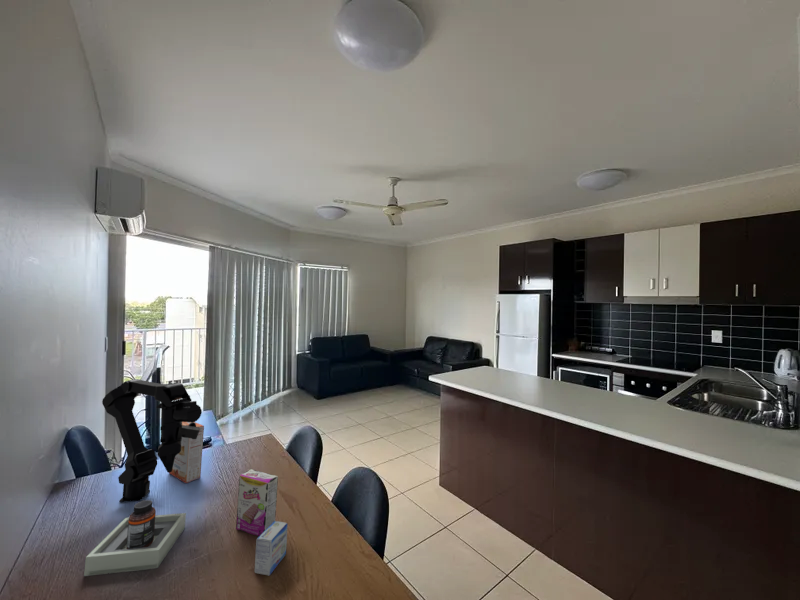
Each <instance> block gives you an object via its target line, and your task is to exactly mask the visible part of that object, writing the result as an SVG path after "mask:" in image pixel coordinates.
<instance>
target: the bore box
mask: <svg viewBox="0 0 800 600" xmlns="http://www.w3.org/2000/svg"><path fill="white" fill-rule="evenodd" d="M186 517H187V513H186V512H183V513H181V512H180V513H169V514H159V515H157V514H156V515H155V529H154V540H153V542H152V544H151V545H150V546H148V547H143V548H133V549H127V534H128V521H129V517H125V518H124V519H123V520H122V521H121V522H119V524H118V525H117V526H115V528H113V530H112V531H110V533H109V534H108V535H107V536H105V538H104V539H102V541H101V542H99V544H98V545H96V547H95V548H93V549H92V550H91V551H90V552H89V553H88V555H86V557H85V561H84V571H83V572H84V573H83V577H89V576H91V577H92V576H99V575H108V573H109V574H116V573H117V574H118V573H126V572H133V571H134V572H135V571H144V570H153V569H154V570H155V569H158V568H159V567H160V566H161V564H162V562H163V561H164V559H165V558H166V557H167V555H168V553H169V552H170V551H171V549H172V548H173V546H174V545H175V544H176V542H177V541H178V539H179V538H180V536H181V535H182V533H183V531H184V530H185V527H186Z"/></svg>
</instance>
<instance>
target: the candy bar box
mask: <svg viewBox="0 0 800 600" xmlns="http://www.w3.org/2000/svg"><path fill="white" fill-rule="evenodd" d="M278 482H279V476H278V475H275V474H271V473H266V472H264V471H259V470H255V469H252V468H251V469H249V470H246V471H245V472H243V473H240V475H239V480H238V492H237V493H238V494H237V495H238V497H237V508H236V509H237V510H236V522H235V523H236V524H235V530H237V531H242V532H244V533H247V534H250V535H253V536H256V537H259V536H260V535H261V534H262V533H263V532H264V531H265V530H266V529H267V528H268V527H269V526H270V525H271V524H272V523H273V522H274V521H276V517H277V516H276V515H277V514H276V513H277V499H278V487H279V486H278Z"/></svg>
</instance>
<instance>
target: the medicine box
mask: <svg viewBox="0 0 800 600" xmlns="http://www.w3.org/2000/svg"><path fill="white" fill-rule="evenodd" d="M287 539H288V523H287V522H284V521H278V520H275V521H274V522H273V523H272V524H271V525H270V526H269V527H268V528H267V529H266V530H265V531H264V532H263V533H262V534H261V535H260V536H257V538H256V540H255V541H256V542H255V544H256V545H255V556H254V558H255V559H254V573H255V574H258V575H259V574H260V575H263V576H264V575H265V576H269V577H270V576H271V574H272V573H273V571H275V569H276V567H278V565H279V564H280V562H281V561H282V560H283V559H284V557H285V556H286V555H287Z"/></svg>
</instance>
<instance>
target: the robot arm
mask: <svg viewBox="0 0 800 600" xmlns="http://www.w3.org/2000/svg"><path fill="white" fill-rule="evenodd" d="M140 394H141V395H145V396H149V397H150V396H151V397H154V400H155V401H157V402H160V403H159V404H157V406H156V409H160V410H161V411H160V414H161V415H160V438H159V439H160V440H159V443H160V444H159V445H158V447H157V455H156V453H155V449H153V448H150V449H148V448H147V447H146V446H145V443H144V440H143V437H142V435H141V432H140V430H139V426H138V423H137V421H136V418H135V415H134V411H133V409H134V407H135V404H136V401H135V399H136V398H137V396H139V395H140ZM101 400H102V401H101V403H102V406H103V407H104V410H105V411H106V413H107V414H108V415H110V416H112V417H113V418H114V419H115V421H116V424H117V425H116V426H117V427H118V431H119V433H120V436H121V439H122V443H123V445H124V448H125V452H126V453H127V454H126V455H127V456H126V459H125V462H124V469H125V470H124V471H123V472H121V473H120V475H119V476H117V477H118V478H117V479H118V483H119V484H120V485H123V487H122V489H123V490H122V498H120V499H119V500H118V501H119V503H124V502H125V503H126V502H127V503H128V502H140V501H143V500H144V498H145V497H146V496H147V495H148V494H149V493H150V492H151V490H150V486H151V485H150V484H151V481H150V480H149V479H150V476H153V475H155V474H154V473H155V471H156V468H157V466H158V458H159V459H160V461H161V463H162V465H163V466H164V468H165V471H166V472H167V473H169V472H172V468H173V464H174V460H175V456H176V455H177V454H178V453H180V452H181V441H182V437H185V438H192V439H197V436H198V434H199V431H200V428H199V427H196V423H197V421H198V420H199V419H200V418H201V416H202V412H203V411H202V408H201V406H200V405H199V404H197V400H193V401H192V398H191V396H190V395H189V393H188V391H187V389H186V387H185V386H184V384H183V383H180V382H175V383H164V384H163V383H159V382H158V383H157V382H153V381H148V380H143V379H140V378H134V379H130V380H126V381H123V382H122V383H121V384H120V385H119V386H117V387H115V388H114V389H111V390H110V391H109V392H108V393H107V394H106V395H105V396H104V397H103V398H102V399H101ZM182 422H191V423H190V424H189V425H188V426H187V425H186V426H185V425H182ZM194 422H196V423H194ZM169 474H170V473H169Z"/></svg>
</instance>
